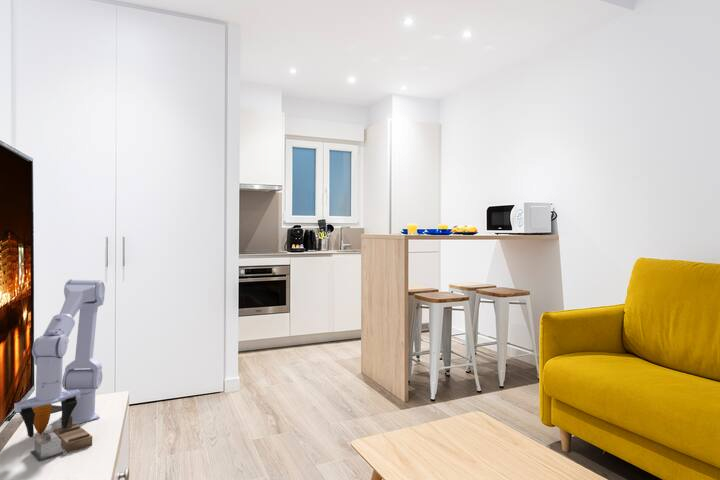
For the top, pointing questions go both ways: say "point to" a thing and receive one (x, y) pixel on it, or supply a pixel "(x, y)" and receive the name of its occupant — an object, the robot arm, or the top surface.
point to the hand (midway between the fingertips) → (47, 431)
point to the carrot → (41, 417)
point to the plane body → (73, 437)
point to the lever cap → (47, 445)
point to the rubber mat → (44, 458)
